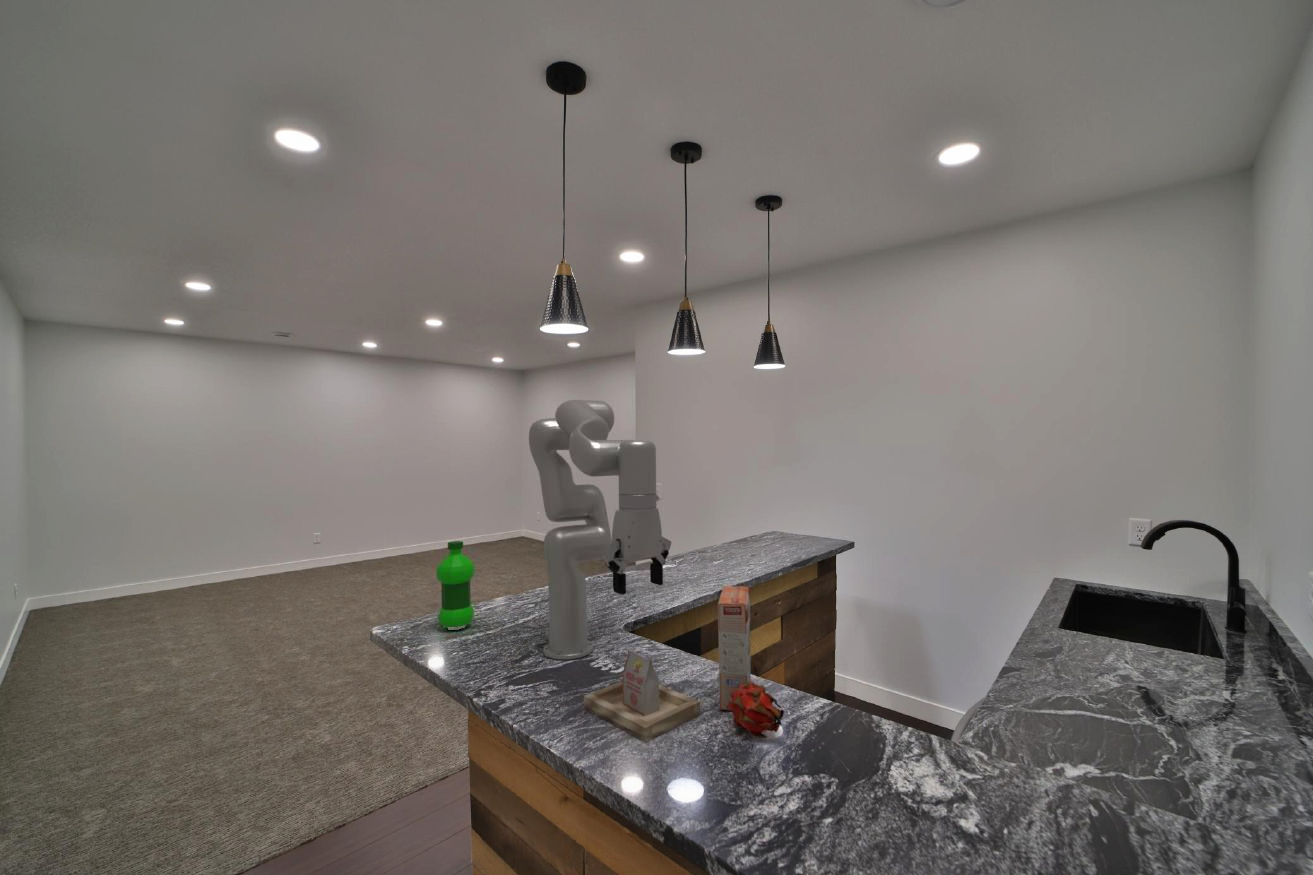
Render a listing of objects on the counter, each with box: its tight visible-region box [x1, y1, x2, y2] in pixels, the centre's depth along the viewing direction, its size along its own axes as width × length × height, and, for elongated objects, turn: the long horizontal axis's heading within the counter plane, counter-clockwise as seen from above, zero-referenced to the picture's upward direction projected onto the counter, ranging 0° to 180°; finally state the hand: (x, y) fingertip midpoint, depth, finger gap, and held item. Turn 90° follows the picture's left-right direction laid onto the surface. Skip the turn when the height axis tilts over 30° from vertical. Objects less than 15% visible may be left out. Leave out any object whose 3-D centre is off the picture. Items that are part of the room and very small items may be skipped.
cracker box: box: [717, 585, 752, 711], centre depth 114 cm, size 14×6×21 cm, turn 168°
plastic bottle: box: [435, 540, 476, 628], centre depth 163 cm, size 10×10×25 cm
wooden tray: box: [583, 681, 701, 743], centre depth 108 cm, size 18×14×2 cm
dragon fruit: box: [726, 680, 785, 739], centre depth 100 cm, size 8×8×12 cm
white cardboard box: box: [621, 650, 660, 716], centre depth 108 cm, size 4×7×10 cm, turn 40°
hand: (638, 588), depth 111 cm, fingers open, 9 cm apart
